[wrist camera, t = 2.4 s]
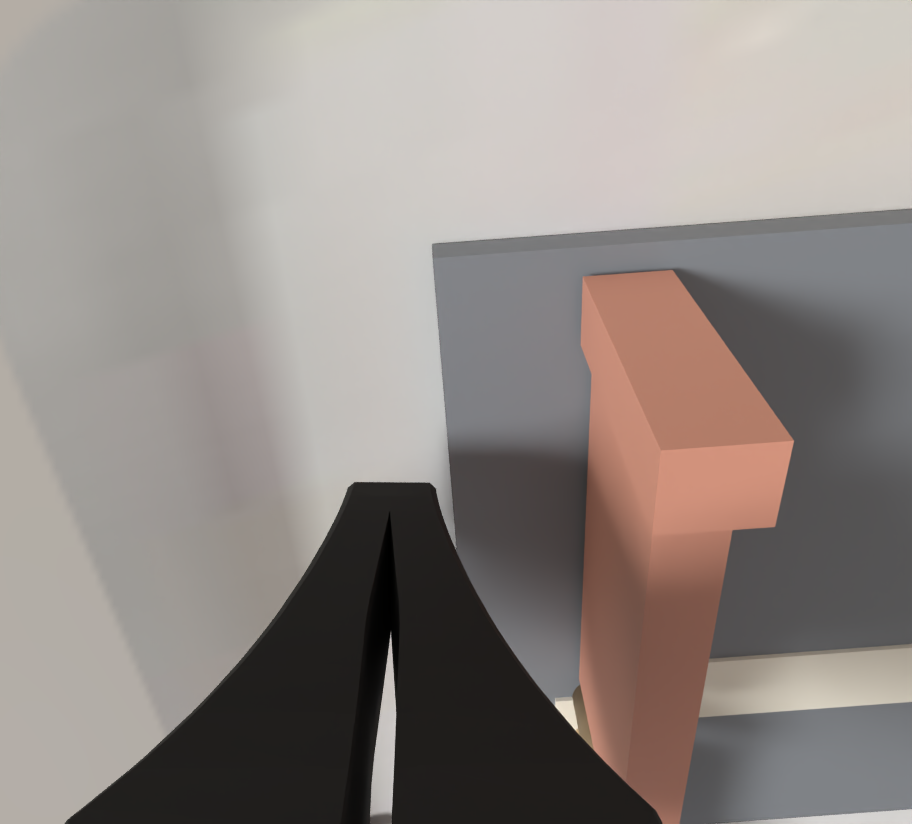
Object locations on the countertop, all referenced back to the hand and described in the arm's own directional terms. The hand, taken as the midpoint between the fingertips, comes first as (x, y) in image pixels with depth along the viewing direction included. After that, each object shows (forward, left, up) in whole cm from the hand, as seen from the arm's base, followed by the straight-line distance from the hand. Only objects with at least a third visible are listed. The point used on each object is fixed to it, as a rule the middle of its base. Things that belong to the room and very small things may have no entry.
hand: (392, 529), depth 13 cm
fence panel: (-1, -4, -1) cm, 4 cm away
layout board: (-4, -8, -2) cm, 9 cm away
